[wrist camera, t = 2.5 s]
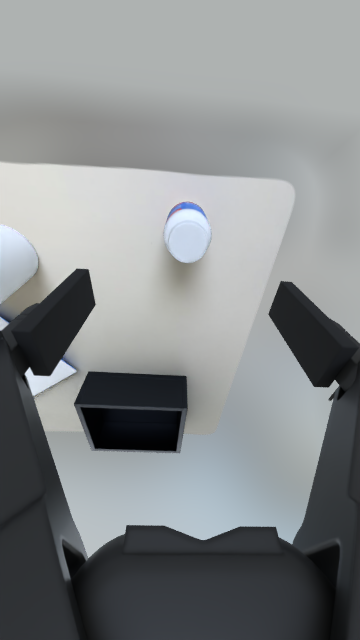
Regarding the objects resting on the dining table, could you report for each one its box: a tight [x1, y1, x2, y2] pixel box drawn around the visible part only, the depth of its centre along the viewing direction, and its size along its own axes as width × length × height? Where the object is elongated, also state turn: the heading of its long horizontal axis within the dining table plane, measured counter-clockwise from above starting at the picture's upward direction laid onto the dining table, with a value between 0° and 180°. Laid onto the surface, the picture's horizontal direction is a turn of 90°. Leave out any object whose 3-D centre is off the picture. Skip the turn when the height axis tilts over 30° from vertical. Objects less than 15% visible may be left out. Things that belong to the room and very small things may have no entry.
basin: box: [74, 372, 187, 453], centre depth 49 cm, size 22×20×8 cm
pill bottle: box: [164, 202, 212, 263], centre depth 25 cm, size 6×5×10 cm
